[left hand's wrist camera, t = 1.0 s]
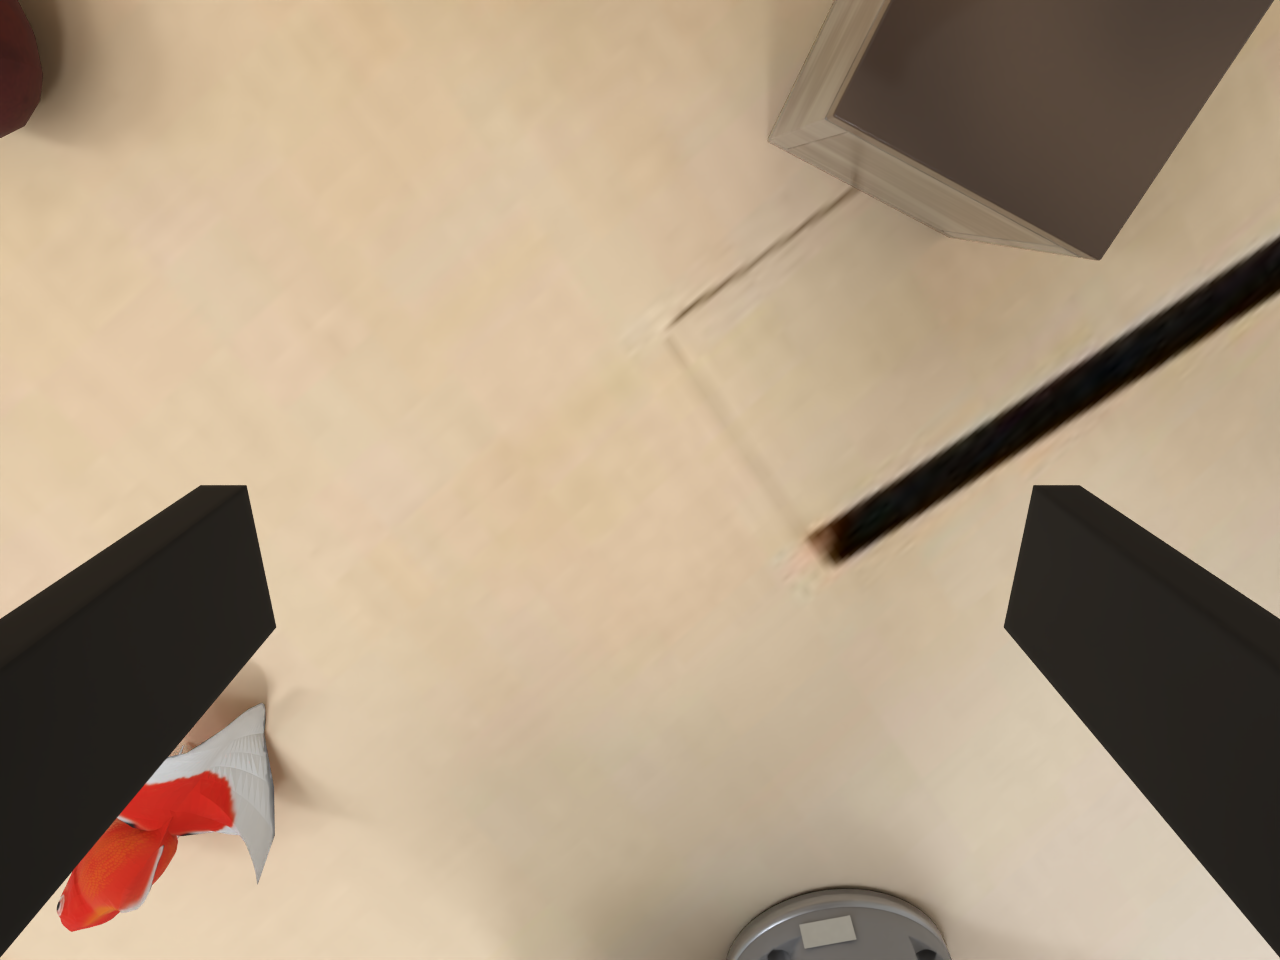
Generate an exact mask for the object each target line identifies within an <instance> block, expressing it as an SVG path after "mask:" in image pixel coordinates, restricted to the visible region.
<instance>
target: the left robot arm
mask: <svg viewBox="0 0 1280 960" xmlns="http://www.w3.org/2000/svg"><path fill="white" fill-rule="evenodd" d="M275 628H276V624H275V619H274V614H273V610H272V605H271V600H270V595H269V590H268V586H267V581H266V576H265V571H264V567H263V562H262V557H261V552H260V548H259V543H258V538H257V533H256V528H255V524H254V519H253V514H252V509H251V505H250V500H249V495H248V490H247V485H200V486H199V487H197V488H196V489H194V490H193V491H191V492H190V493H188V494H187V495H185V496H184V497H182V498H181V499H179V500H178V501H176V502H175V503H173V504H172V505H170V506H169V507H167V508H166V509H164V510H163V511H161V512H160V513H158V514H157V515H155V516H154V517H152V518H151V519H149V520H148V521H146V522H145V523H143V524H142V525H140V526H139V527H137V528H136V529H134V530H133V531H131V532H130V533H128V534H127V535H125V536H124V537H122V538H121V539H119V540H118V541H116V542H115V543H113V544H112V545H110V546H109V547H107V548H106V549H104V550H103V551H101V552H100V553H98V554H97V555H95V556H94V557H92V558H91V559H89V560H88V561H86V562H85V563H83V564H82V565H80V566H79V567H77V568H76V569H74V570H73V571H71V572H70V573H68V574H67V575H65V576H64V577H62V578H61V579H59V580H58V581H56V582H55V583H53V584H52V585H50V586H49V587H47V588H46V589H45V590H43V591H42V592H40V593H39V594H37V595H36V596H34V597H33V598H31V599H30V600H28V601H27V602H25V603H24V604H22V605H21V606H19V607H18V608H16V609H15V610H13V611H12V612H10V613H9V614H7V615H6V616H4V617H3V618H1V619H0V957H1V956H2V955H3V954H4V952H5V951H6V950H7V949H8V948H9V946H10V945H11V944H12V943H13V942H14V940H15V939H16V938H17V937H18V936H19V934H20V933H21V932H22V931H23V930H24V928H25V927H26V926H27V925H28V924H29V922H30V921H31V920H32V919H33V918H34V916H35V915H36V914H37V913H38V912H39V910H40V909H41V908H42V907H43V906H44V904H45V903H46V902H47V901H48V900H49V899H50V897H51V896H52V895H53V894H54V893H55V891H56V890H57V889H58V888H59V887H60V885H61V884H62V883H63V882H64V881H65V879H66V878H67V877H68V876H69V875H70V873H71V872H72V871H73V870H74V869H75V867H76V866H77V865H78V864H79V863H80V861H81V860H82V859H83V858H84V857H85V855H86V854H87V853H88V852H89V851H90V849H91V848H92V847H93V846H94V845H95V843H96V842H97V841H98V840H99V839H100V838H101V836H102V835H103V834H104V833H105V832H106V830H107V829H108V828H109V827H110V826H111V824H112V823H113V822H114V821H115V820H116V818H117V817H118V816H119V815H120V814H121V812H122V811H123V810H124V809H125V808H126V806H127V805H128V804H129V803H130V802H131V800H132V799H133V798H134V797H135V796H136V794H137V793H138V792H139V791H140V790H141V788H142V787H143V786H144V785H145V784H146V782H147V781H148V780H149V779H150V778H151V777H152V775H153V774H154V773H155V772H156V771H157V769H158V768H159V767H160V766H161V765H162V763H163V762H164V761H165V760H166V759H167V757H168V756H169V755H170V754H171V753H172V751H173V750H174V749H175V748H176V747H177V745H178V744H179V743H180V742H181V741H182V739H183V738H184V737H185V736H186V735H187V733H188V732H189V731H190V730H191V729H192V727H193V726H194V725H195V724H196V723H197V721H198V720H199V719H200V718H201V717H202V715H203V714H204V713H205V712H206V711H207V710H208V708H209V707H210V706H211V705H212V704H213V702H214V701H215V700H216V699H217V698H218V696H219V695H220V694H221V693H222V692H223V690H224V689H225V688H226V687H227V686H228V684H229V683H230V682H231V681H232V680H233V678H234V677H235V676H236V675H237V674H238V672H239V671H240V670H241V669H242V668H243V666H244V665H245V664H246V663H247V662H248V660H249V659H250V658H251V657H252V656H253V654H254V653H255V652H256V651H257V650H258V649H259V647H260V646H261V645H262V644H263V643H264V641H265V640H266V639H267V638H268V637H269V635H270V634H271V633H272V632H273V631H274V629H275ZM1004 628H1005V629H1006V631H1007V632H1008V633H1009V634H1010V635H1011V637H1012V638H1013V639H1014V640H1015V641H1016V643H1017V644H1018V645H1019V646H1020V647H1021V649H1022V650H1023V651H1024V652H1025V653H1026V654H1027V656H1028V657H1029V658H1030V659H1031V660H1032V662H1033V663H1034V664H1035V665H1036V666H1037V668H1038V669H1039V670H1040V671H1041V672H1042V674H1043V675H1044V676H1045V677H1046V678H1047V680H1048V681H1049V682H1050V683H1051V684H1052V686H1053V687H1054V688H1055V689H1056V690H1057V692H1058V693H1059V694H1060V695H1061V696H1062V698H1063V699H1064V700H1065V701H1066V702H1067V704H1068V705H1069V706H1070V707H1071V708H1072V710H1073V711H1074V712H1075V713H1076V714H1077V715H1078V717H1079V718H1080V719H1081V720H1082V721H1083V723H1084V724H1085V725H1086V726H1087V727H1088V729H1089V730H1090V731H1091V732H1092V733H1093V735H1094V736H1095V737H1096V738H1097V739H1098V741H1099V742H1100V743H1101V744H1102V745H1103V747H1104V748H1105V749H1106V750H1107V751H1108V753H1109V754H1110V755H1111V756H1112V757H1113V759H1114V760H1115V761H1116V762H1117V763H1118V765H1119V766H1120V767H1121V768H1122V769H1123V771H1124V772H1125V773H1126V774H1127V775H1128V777H1129V778H1130V779H1131V780H1132V781H1133V782H1134V784H1135V785H1136V786H1137V787H1138V788H1139V790H1140V791H1141V792H1142V793H1143V794H1144V796H1145V797H1146V798H1147V799H1148V800H1149V802H1150V803H1151V804H1152V805H1153V806H1154V808H1155V809H1156V810H1157V811H1158V812H1159V814H1160V815H1161V816H1162V817H1163V818H1164V820H1165V821H1166V822H1167V823H1168V824H1169V826H1170V827H1171V828H1172V829H1173V830H1174V832H1175V833H1176V834H1177V835H1178V836H1179V838H1180V839H1181V840H1182V841H1183V842H1184V843H1185V845H1186V846H1187V847H1188V848H1189V849H1190V851H1191V852H1192V853H1193V854H1194V855H1195V857H1196V858H1197V859H1198V860H1199V861H1200V863H1201V864H1202V865H1203V866H1204V867H1205V869H1206V870H1207V871H1208V872H1209V873H1210V875H1211V876H1212V877H1213V878H1214V879H1215V881H1216V882H1217V883H1218V884H1219V885H1220V887H1221V888H1222V889H1223V890H1224V891H1225V893H1226V894H1227V895H1228V896H1229V897H1230V899H1231V900H1232V901H1233V902H1234V903H1235V904H1236V906H1237V907H1238V908H1239V909H1240V910H1241V912H1242V913H1243V914H1244V915H1245V916H1246V918H1247V919H1248V920H1249V921H1250V922H1251V924H1252V925H1253V926H1254V927H1255V928H1256V930H1257V931H1258V932H1259V933H1260V934H1261V936H1262V937H1263V938H1264V939H1265V940H1266V942H1267V943H1268V944H1269V945H1270V946H1271V948H1272V949H1273V950H1274V951H1275V952H1276V954H1277V955H1278V956H1279V957H1280V619H1279V618H1277V617H1276V616H1274V615H1273V614H1271V613H1270V612H1268V611H1267V610H1265V609H1264V608H1262V607H1261V606H1259V605H1258V604H1256V603H1255V602H1253V601H1252V600H1250V599H1249V598H1247V597H1246V596H1244V595H1243V594H1241V593H1240V592H1238V591H1237V590H1235V589H1234V588H1232V587H1231V586H1230V585H1228V584H1227V583H1225V582H1224V581H1222V580H1221V579H1219V578H1218V577H1216V576H1215V575H1213V574H1212V573H1210V572H1209V571H1207V570H1206V569H1204V568H1203V567H1201V566H1200V565H1198V564H1197V563H1195V562H1194V561H1192V560H1191V559H1189V558H1188V557H1186V556H1185V555H1183V554H1182V553H1180V552H1179V551H1177V550H1176V549H1174V548H1173V547H1171V546H1170V545H1168V544H1167V543H1165V542H1164V541H1162V540H1161V539H1159V538H1158V537H1156V536H1155V535H1153V534H1152V533H1150V532H1149V531H1147V530H1146V529H1144V528H1143V527H1141V526H1140V525H1138V524H1137V523H1135V522H1134V521H1132V520H1131V519H1129V518H1128V517H1126V516H1125V515H1123V514H1122V513H1120V512H1119V511H1117V510H1116V509H1114V508H1113V507H1111V506H1110V505H1108V504H1107V503H1105V502H1104V501H1102V500H1101V499H1099V498H1098V497H1096V496H1095V495H1093V494H1092V493H1090V492H1089V491H1087V490H1086V489H1084V488H1083V487H1081V486H1080V485H1033V490H1032V495H1031V500H1030V505H1029V509H1028V514H1027V519H1026V524H1025V528H1024V533H1023V538H1022V543H1021V547H1020V552H1019V557H1018V562H1017V567H1016V571H1015V576H1014V581H1013V586H1012V590H1011V595H1010V600H1009V605H1008V610H1007V614H1006V619H1005V624H1004ZM726 960H951V957H950V954H949V952H948V949H947V947H946V944H945V942H944V939H943V937H942V935H941V933H940V931H939V930H938V928H937V926H936V925H935V924H934V923H933V921H932V920H931V919H930V918H929V917H928V916H927V915H926V914H924V913H923V912H922V911H921V910H919V909H918V908H916V907H915V906H913V905H911V904H910V903H908V902H906V901H903V900H901V899H899V898H896V897H893V896H891V895H887V894H884V893H880V892H875V891H869V890H860V889H833V890H823V891H818V892H812V893H808V894H804V895H800V896H797V897H794V898H791V899H789V900H786V901H784V902H781V903H779V904H777V905H775V906H773V907H771V908H770V909H768V910H766V911H765V912H763V913H762V914H760V915H759V916H757V917H756V918H755V919H753V920H752V921H751V922H750V923H749V924H748V925H747V926H746V927H745V928H744V929H743V930H742V931H741V932H740V934H739V935H738V936H737V938H736V939H735V941H734V942H733V944H732V946H731V948H730V950H729V952H728V955H727V959H726Z"/></svg>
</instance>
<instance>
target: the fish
mask: <svg viewBox="0 0 1280 960" xmlns="http://www.w3.org/2000/svg"><path fill="white" fill-rule="evenodd" d="M264 729H265V706H264V704H263V703H260V704H258V705H256V706H254V707H252V708H250V709H248V710H247V711H245V712H244V713H243V714H241V715H240V716H239V717H237V718H236V719H235V720H234V721H233V722H231V723H230V724H229V725H228V726H226V727H225V728H224V729H223V730H221V731H220V732H218V733H217V734H215V735H214V736H212V737H211V738H209V739H208V740H206V741H205V742H203V743H202V744H200V745H199V746H197V747H195V748H194V749H192V750H191V751H189V752H188V753H185V754H181V753H182V750H183V747H184V745H183V746H182V748H181V750H180V752H179V754H178V755H175V756H171V757H167V759H166V760H165V761H164V762H163V763H162V765H161V766H160V767H159V768H158V769H157V771H156V772H155V773H154V774H153V775H152V777H151V778H150V779H149V780H148V781H147V782H146V784H145V785H144V786H143V787H142V788H141V790H140V791H139V792H138V793H137V794H136V796H135V797H134V798H133V799H132V800H131V802H130V803H129V804H128V805H127V806H126V808H125V809H124V810H123V811H122V812H121V814H120V815H119V816H118V817H117V818H116V820H115V821H114V822H113V823H112V824H111V826H110V827H109V828H108V829H107V830H106V832H105V833H104V834H103V835H102V836H101V838H100V839H99V840H98V841H97V842H96V843H95V845H94V846H93V847H92V848H91V849H90V851H89V852H88V853H87V854H86V855H85V857H84V858H83V859H82V860H81V861H80V863H79V864H78V865H77V866H76V867H75V869H74V870H73V871H72V874H71V876H70V878H69V881H68V883H67V885H66V887H65V889H64V891H63V893H62V895H61V898H60V900H59V902H58V905H57V913H58V915H59V917H60V918H61V922H62V924H63V925H64V926H65V927H66V928H67V929H68V930H69V931H71V932H72V931H77V930H80V929H85V928H90V927H93V926H97V925H100V924H103V923H105V922H107V921H109V920H111V919H113V918H114V917H115V916H116V915H117V914H118V913H119V912H129V911H133V910H136V909H138V908H139V907H140V906H141V905H142V904H143V903H144V901H145V899H146V897H147V895H148V893H149V891H150V889H151V886H152V885H153V884H154V883H155V882H156V880H157V879H158V878H159V877H160V876H161V875H162V873H163V872H164V871H165V869H166V868H167V866H168V864H169V863H170V861H171V860H172V858H173V856H174V854H175V853H176V849H177V844H178V838H179V836H186V835H194V834H202V833H209V832H219V833H225V834H233V835H239V836H240V837H241V838H242V839H243V841H244V842H245V844H246V846H247V848H248V850H249V853H250V856H251V859H252V861H253V865H254V868H255V872H256V877H257V885H258V882H259V879H260V876H261V873H262V870H263V867H264V865H265V862H266V859H267V856H268V853H269V850H270V847H271V844H272V841H273V839H274V836H275V823H274V785H273V780H272V774H271V769H270V763H269V758H268V752H267V747H266V741H265V736H264Z"/></svg>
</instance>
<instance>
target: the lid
mask: <svg viewBox="0 0 1280 960" xmlns="http://www.w3.org/2000/svg"><path fill="white" fill-rule="evenodd" d="M1273 1H1274V0H885V1H884V3H883V5H882V7H881V9H880V11H879V13H878V15H877V17H876V19H875V21H874V23H873V25H872V27H871V29H870V31H869V33H868V35H867V37H866V39H865V41H864V43H863V45H862V47H861V49H860V51H859V53H858V55H857V57H856V59H855V61H854V63H853V65H852V67H851V69H850V71H849V73H848V75H847V77H846V79H845V81H844V83H843V85H842V87H841V89H840V91H839V93H838V95H837V97H836V99H835V101H834V103H833V104H832V106H831V108H830V110H829V112H828V114H827V120H829V121H830V122H832V123H834V124H836V125H838V126H840V127H842V128H843V129H845V130H847V131H849V132H851V133H853V134H855V135H856V136H858V137H860V138H862V139H864V140H866V141H867V142H869V143H871V144H873V145H875V146H877V147H879V148H880V149H882V150H884V151H886V152H888V153H890V154H892V155H893V156H895V157H897V158H899V159H901V160H903V161H904V162H906V163H908V164H910V165H912V166H914V167H916V168H917V169H919V170H921V171H923V172H925V173H927V174H929V175H930V176H932V177H934V178H936V179H938V180H940V181H941V182H943V183H945V184H947V185H949V186H951V187H953V188H954V189H956V190H958V191H960V192H962V193H964V194H966V195H967V196H969V197H971V198H973V199H975V200H977V201H978V202H980V203H982V204H984V205H986V206H988V207H990V208H991V209H993V210H995V211H997V212H999V213H1001V214H1003V215H1004V216H1006V217H1008V218H1010V219H1012V220H1014V221H1015V222H1017V223H1019V224H1021V225H1023V226H1025V227H1027V228H1028V229H1030V230H1032V231H1034V232H1036V233H1038V234H1040V235H1041V236H1043V237H1045V238H1047V239H1049V240H1051V241H1052V242H1054V243H1056V244H1058V245H1060V246H1062V247H1064V248H1065V249H1067V250H1069V251H1071V252H1073V253H1075V254H1077V255H1078V256H1080V257H1082V258H1086V259H1092V260H1100V259H1101V258H1102V257H1103V255H1104V254H1105V252H1106V251H1107V249H1108V248H1109V246H1110V245H1111V243H1112V242H1113V240H1114V239H1115V237H1116V236H1117V234H1118V233H1119V231H1120V230H1121V228H1122V227H1123V225H1124V224H1125V222H1126V221H1127V219H1128V218H1129V216H1130V215H1131V213H1132V212H1133V210H1134V209H1135V207H1136V206H1137V204H1138V203H1139V201H1140V200H1141V198H1142V197H1143V196H1144V194H1145V193H1146V191H1147V190H1148V188H1149V187H1150V185H1151V184H1152V182H1153V181H1154V179H1155V178H1156V176H1157V175H1158V173H1159V172H1160V170H1161V169H1162V167H1163V166H1164V164H1165V163H1166V161H1167V160H1168V158H1169V157H1170V155H1171V154H1172V152H1173V151H1174V149H1175V148H1176V146H1177V145H1178V143H1179V142H1180V140H1181V139H1182V137H1183V136H1184V134H1185V133H1186V131H1187V130H1188V128H1189V127H1190V125H1191V124H1192V122H1193V121H1194V119H1195V118H1196V116H1197V115H1198V113H1199V112H1200V110H1201V109H1202V107H1203V106H1204V104H1205V103H1206V101H1207V100H1208V98H1209V97H1210V95H1211V94H1212V92H1213V91H1214V89H1215V88H1216V86H1217V85H1218V83H1219V82H1220V80H1221V79H1222V77H1223V76H1224V74H1225V73H1226V71H1227V70H1228V68H1229V67H1230V65H1231V64H1232V62H1233V61H1234V59H1235V58H1236V56H1237V55H1238V53H1239V52H1240V50H1241V49H1242V47H1243V46H1244V44H1245V43H1246V41H1247V40H1248V38H1249V37H1250V35H1251V34H1252V32H1253V31H1254V29H1255V28H1256V26H1257V25H1258V23H1259V22H1260V20H1261V19H1262V17H1263V16H1264V14H1265V13H1266V11H1267V10H1268V8H1269V7H1270V5H1271V4H1272V2H1273Z"/></svg>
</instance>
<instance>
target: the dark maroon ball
mask: <svg viewBox="0 0 1280 960" xmlns="http://www.w3.org/2000/svg"><path fill="white" fill-rule="evenodd" d="M42 78H43V73H42V68H41V63H40V58H39V53H38V49H37V44H36V39H35V36H34V33H33V30H32V28H31V26H30V24H29V22H28V20H27V18H26V16H25V14H24V12H23V10H22V8H21V6H20V4H19V2H18V0H0V138H2V137H4V136H6V135H7V134H9V133H11V132H13V131H15V130H17V129H19V128H21V127H23V126H25V124H26V123H27V121H28V120H29V118H30V117H31V115H32V113H33V111H34V110H35V108H36V106H37V105H38V103H39V101H40V98H41V88H42Z"/></svg>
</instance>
